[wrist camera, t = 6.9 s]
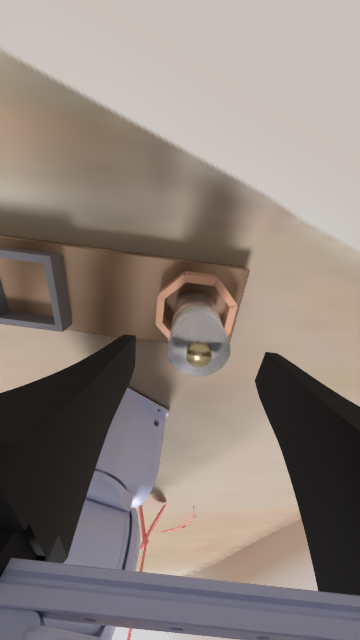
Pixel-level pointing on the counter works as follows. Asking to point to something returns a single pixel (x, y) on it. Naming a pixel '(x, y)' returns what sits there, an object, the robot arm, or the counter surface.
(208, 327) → the steel cell
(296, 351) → the counter surface
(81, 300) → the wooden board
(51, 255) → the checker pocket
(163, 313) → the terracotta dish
